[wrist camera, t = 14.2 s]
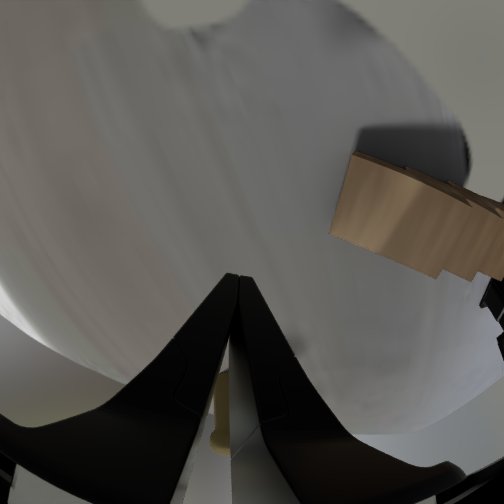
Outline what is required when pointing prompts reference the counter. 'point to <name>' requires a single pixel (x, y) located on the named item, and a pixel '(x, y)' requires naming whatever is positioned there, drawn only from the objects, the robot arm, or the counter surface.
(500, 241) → the walnut domino
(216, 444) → the olive yellow rounded piece
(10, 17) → the counter surface
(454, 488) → the robot arm
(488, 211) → the walnut domino
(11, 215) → the counter surface
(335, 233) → the walnut domino
